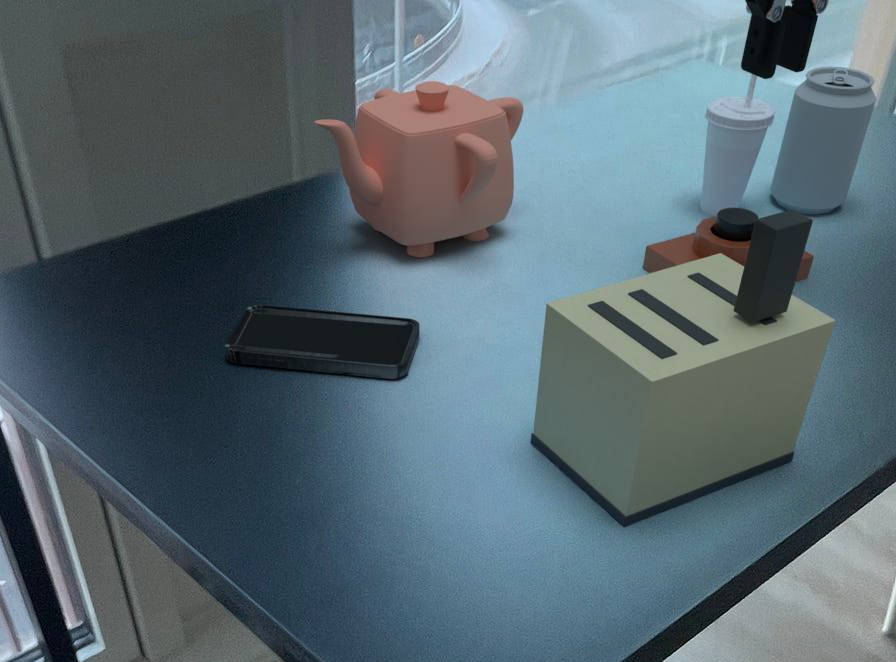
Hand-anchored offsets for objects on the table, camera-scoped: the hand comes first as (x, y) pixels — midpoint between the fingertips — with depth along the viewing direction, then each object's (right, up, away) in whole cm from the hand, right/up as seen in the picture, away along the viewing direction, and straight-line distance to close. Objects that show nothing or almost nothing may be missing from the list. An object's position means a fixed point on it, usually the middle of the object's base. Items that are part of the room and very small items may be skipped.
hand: (772, 68), depth 80 cm
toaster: (-11, -32, -7) cm, 34 cm away
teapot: (-28, -6, +18) cm, 34 cm away
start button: (0, -9, +10) cm, 14 cm away
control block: (0, -12, +12) cm, 17 cm away
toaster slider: (-6, -25, -16) cm, 30 cm away
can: (+12, -1, +23) cm, 26 cm away
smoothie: (+2, -2, +22) cm, 22 cm away
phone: (-36, -22, +3) cm, 42 cm away
